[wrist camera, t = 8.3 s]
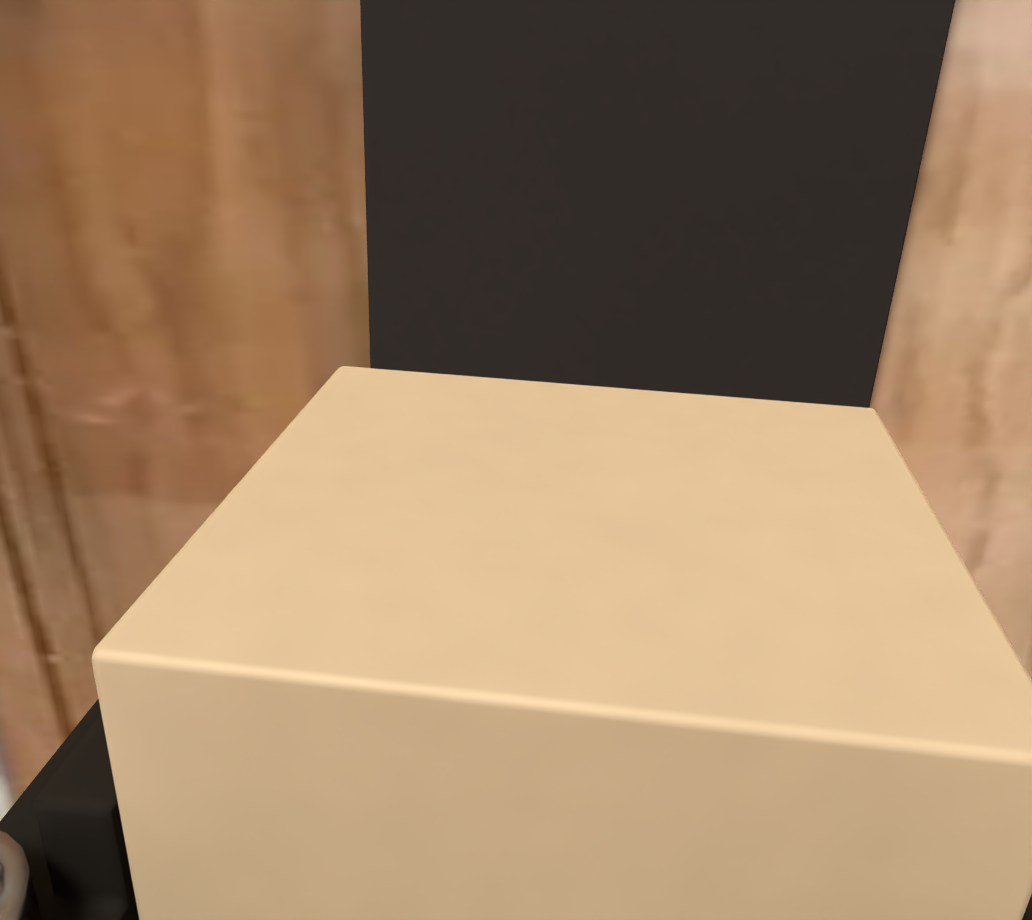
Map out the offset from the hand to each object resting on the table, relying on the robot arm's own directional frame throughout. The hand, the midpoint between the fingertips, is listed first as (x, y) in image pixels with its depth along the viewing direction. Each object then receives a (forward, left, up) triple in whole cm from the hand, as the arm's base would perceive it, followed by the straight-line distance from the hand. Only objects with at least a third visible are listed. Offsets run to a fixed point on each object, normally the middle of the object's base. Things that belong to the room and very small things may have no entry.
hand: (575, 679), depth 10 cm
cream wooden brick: (0, 0, -1) cm, 1 cm away
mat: (0, 0, -18) cm, 18 cm away
